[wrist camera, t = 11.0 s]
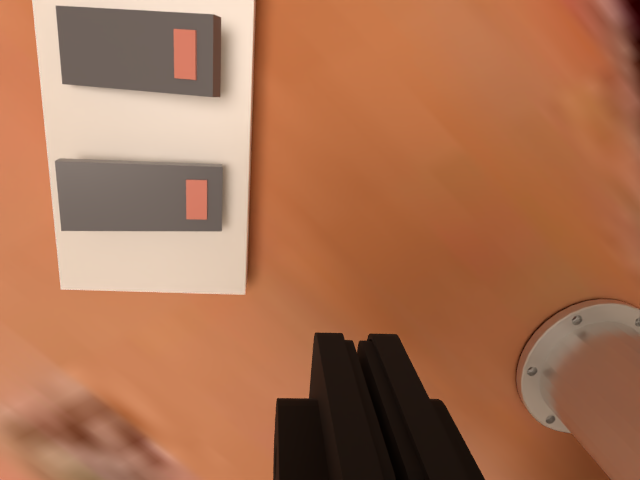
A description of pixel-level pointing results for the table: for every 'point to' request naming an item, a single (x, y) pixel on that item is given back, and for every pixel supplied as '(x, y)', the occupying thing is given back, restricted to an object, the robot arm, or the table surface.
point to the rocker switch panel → (155, 157)
